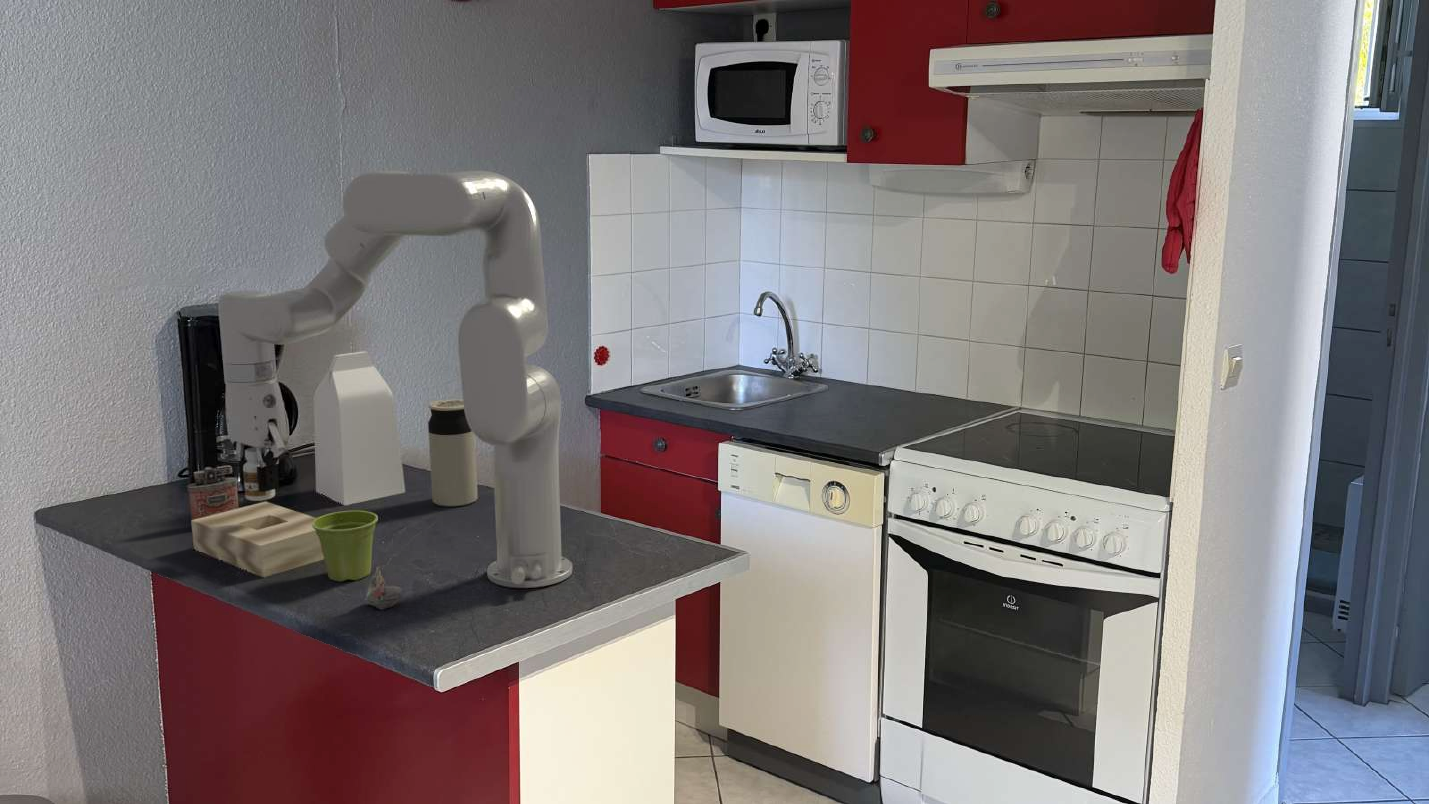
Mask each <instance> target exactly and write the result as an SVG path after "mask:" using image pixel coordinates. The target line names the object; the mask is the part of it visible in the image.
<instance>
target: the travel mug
mask: <svg viewBox="0 0 1429 804" xmlns="http://www.w3.org/2000/svg"><path fill="white" fill-rule="evenodd" d="M428 408H429V409H430V413H431V416H430V418H429V420H428V422H427V425H428V426H427V427H428V444H429V445H428V447H429V459H430V460H429V463H430V465H429V466H430V478H431V480H430V481H431V483H430V484H431V497H432V503H434V504H436V505H437V506H441V507H449V508H451V507H452V508H453V507H454V508H455V507H463V506H468V505H470V504H473V503H474V502H476V501H477V500H478V498H479V497H478V480H477V479H478V478H477V459H476V439H475V438H476V437H475V436H476V435H475V434H474V433H473V432H472V430H471V428H470V427H469V425H468V422H467V420H466V416H465V412H464V405H463V399H460V398H458V399H456V398H454V399H440V400H436V401H435V400H434V401H432V402H431V403H429V404H428Z"/></svg>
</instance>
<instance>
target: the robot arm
mask: <svg viewBox="0 0 1429 804" xmlns="http://www.w3.org/2000/svg"><path fill="white" fill-rule="evenodd" d="M342 210H343V216H342V217H340V219H338V221H336V223H335V224H334V225H333V226H332V227H331V228H330V229H329V230H328V231H327V232H326V234H325V235H324V238H323V243H324V248H325V250H326V253H327V254H328V256H329V259H328V261H327V263H325V265H324V267H323V268H322V269H321V270H319V272H318V273H317V274H316V275H315V277H313V278H312V280H311V281H310V282H309V283H308V284H306V285H305V286H304V287H302V288H296V289H292V290H288V291H283V292H279V293H276V294H274V293H273V294H270V295H268V294H267V293H266V292H263V291H261V290H235V291H229V292H225V293H223V294H222V295H220V297H219V298H218V302H217V305H218V307H217V308H218V321H219V330H220V332H219V333H220V343H221V355H222V365H223V375H224V376H223V377H224V378H223V380H224V384H225V421H226V428H227V429H226V430H227V437H228V439H229V440H230V441H231V443H232V446H233V448H234V450H235V458H236V460H237V461H238V474H239V485H240V486H242V487H245V486H244V474H243V466H244V464H245V463H247V460H246V458H245V450H246V449H249V448H253V447H256V452H257V457H258V461H259V465H260V466H258V467H257V477H258V489H259V491H260V492H265V491H269V490H273V489H275V490H276V489H278V488H279V487H280V482H279V481H280V479H279V470H278V469H279V468H278V464H279V463H280V458H281V455H282V454H283V453H284V452H285V450H286V446H285V443H287V441H288V429H287V427H288V426H287V422H286V421H287V420H286V412H285V406H284V402H283V396H282V392H281V388H280V385H279V382H278V379H277V365H276V363H277V362H276V354H275V353H276V351H275V345H287V344H292V343H295V342H300V341H302V340H304V339H309V338H312V337H315V336H318V335H319V336H320V335H322V334H324V333H326V332H328V331H330V330H331V329H332V328H333V327H335V326H336V324H338V322H340V320H341V319H343V317H344V316H346V314H347V313H348V312H349V311H350V310H351V309H352V308H353V307H355V305H356V304H357V303H358V301H360V299H361V297H362V296H363V294H364V293H365V291H366V289H367V287H368V285H369V283H370V280H371V276H372V275H373V274H374V272H375V271H376V270H377V269H378V268H379V267H380V266H381V265H382V263H383V262H384V261H385V260H386V259H387V258H388V257H389V256H390V255H391V254H392V253H393V251H395V249H397V247H398V246H399V245H400V244H401V243H403V241H404V240H405V239H406V238H407V237H408V236H411V237H412V236H416V237H417V236H418V237H419V236H420V237H421V236H425V237H452V236H460V235H465V234H471V233H475V232H480V233H483V235H484V247H483V255H482V274H483V275H482V276H483V283H484V284H483V287H484V288H483V289H484V299H483V300H480V301H478V302H477V303H475V304H473V305H472V306H471V307H470V308H469V309H468V310H467V311H466V313H464V316H463V318H462V320H461V323H460V325H459V329H458V337H457V347H458V360H459V361H458V362H459V371H460V382H461V391H462V392H461V394H462V400H463V405H464V412H465V416H466V420H467V422H468V425H469V427H470V428H471V430H472V432H473V433H474V434H475V436H476V437H477V438H478V439H479V440H481V442H483V443H485V444H488V445H490V446H493V452H492V455H493V456H492V458H493V459H492V466H493V467H492V468H493V470H492V473H493V492H494V494H493V495H494V513H495V514H494V516H495V538H496V540H495V541H496V559H497V560H495V561H493V562H492V563H490V564H489V565H488V567H487V569H486V574H487V579H489V580H490V582H491V583H494V584H496V585H498V586H503V587H505V588H506V587H507V588H514V589H515V588H516V589H528V588H529V589H530V588H533V589H534V588H541V587H547V586H551V585H554V584H558V583H561V582H563V581H564V580H567V579H568V578H569V577H570V576H571V575H572V573H573V563H572V562H571V560H569V559H568V558H566V557H564V556H562V529H561V528H562V527H561V503H560V502H561V500H560V499H561V498H560V496H561V495H560V474H559V473H560V467H559V466H560V464H559V463H560V462H559V460H560V459H559V442H560V441H559V438H560V435H559V434H560V429H561V426H560V425H561V417H562V416H561V415H562V396H561V390H560V387H559V385H558V383H557V381H556V379H555V377H554V376H553V375H552V374H551V373H550V372H549V371H547V370H546V369H544V368H543V367H540V366H539V365H535V364H526V363H527V362H526V358H527V357H529V356H531V355H533V354H534V353H536V352H537V351H538V350H540V349H541V348H542V347H543V346H544V344H545V343H546V340H547V338H548V335H549V334H548V333H549V319H548V318H549V317H548V310H547V309H548V308H547V307H548V306H547V295H546V284H545V283H546V281H545V272H544V266H543V264H544V263H543V251H542V234H541V231H542V230H541V226H540V225H541V223H540V219H539V218H540V217H539V215H538V211H537V208H536V206H535V203H533V200H532V198H531V197H530V196H529V194H528V193H527V191H526V190H524V188H523V187H521V186H520V185H519V184H518V183H517V182H515V181H514V180H512V179H510V178H509V177H507V176H505V175H502V174H500V173H497V172H492V171H487V170H463V171H455V172H454V171H453V172H451V171H450V172H438V173H437V172H431V173H426V172H423V173H417V172H416V173H414V172H413V173H411V172H408V171H405V170H401V169H390V170H388V169H387V170H386V169H385V170H375V171H374V170H372V171H367V172H364V173H361V174H359V175H358V176H356V177H354V178H353V179H352V180H351V181H350V182H349V183H348V185H347V186H346V188H345V191H344V194H343V197H342ZM267 442H268V444H266V443H267ZM266 449H268V452H267V453H266V455H264V450H266Z"/></svg>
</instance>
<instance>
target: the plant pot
mask: <svg viewBox="0 0 1429 804" xmlns="http://www.w3.org/2000/svg"><path fill="white" fill-rule="evenodd" d="M315 518H316V519H315V520H314V521H313V522H312V527H313V528H314V529H315V530H316V534H317V536H318V537H319V540H320V544H321V548H322V552H323V556H324V559H323V561H324V564H325V568H326V572H327V576H328V578H329V579H330V580H331V581H336V582H344V581H346V580H352V581H357V580H361V579H363V578H365V577H368V576H369V575H370V573H371V570H372V552H373V540H374V539H373V538H374V531H375V528H376V523H377V522H378V521H379V520H378V519H379V517H378V515H377V514H376V513H374V512H371V511H367V510H344V511H337V512H336V511H335V512H332V513H327V514H324V515H320V516H318V517H315Z"/></svg>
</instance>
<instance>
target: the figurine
mask: <svg viewBox="0 0 1429 804" xmlns="http://www.w3.org/2000/svg"><path fill="white" fill-rule="evenodd" d="M375 568H376V570H375V573H374V576H373V575H372V578H371V580H370V582H369V584H368V587H367V589H366V591H367V593H366V594H365V596H366V597H365V601H366V600H367V603H366V604H367V605H369V606H372V607H375V608H377V609H379V610H381V611H383V610H385V609H389V608H392V607H393V606H394V605H395V606H396V604H397V603H398V602H399V600H400V599H401V598H402V597H403V589H402V588H401V587H400V586H395V585H386V582H385V579H384V578H383V576H382V575H381V572H382V568H381V566H379V565H376V567H375ZM374 578H376V580H375V581H373V579H374ZM372 581H373V582H372Z"/></svg>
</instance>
